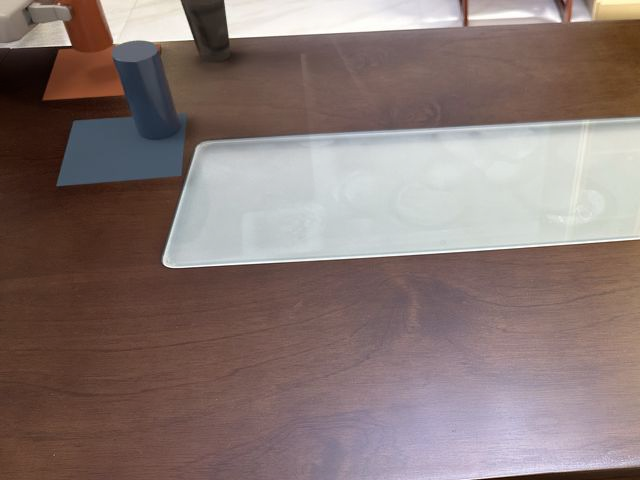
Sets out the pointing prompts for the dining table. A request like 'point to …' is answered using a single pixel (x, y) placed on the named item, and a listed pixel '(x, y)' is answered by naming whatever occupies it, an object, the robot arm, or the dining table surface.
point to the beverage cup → (208, 28)
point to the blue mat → (119, 153)
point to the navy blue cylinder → (146, 89)
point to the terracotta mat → (84, 75)
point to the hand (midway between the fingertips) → (83, 1)
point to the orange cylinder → (88, 26)
